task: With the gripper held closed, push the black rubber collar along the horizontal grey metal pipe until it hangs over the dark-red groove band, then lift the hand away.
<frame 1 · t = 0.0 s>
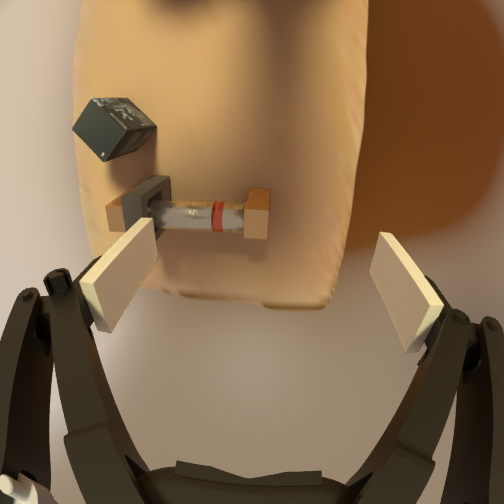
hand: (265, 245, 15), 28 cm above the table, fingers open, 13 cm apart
box: (132, 123, 38), on the table
pipe: (197, 198, 44), on the table
collar: (147, 212, 38), point 7 cm above the table, touching pipe
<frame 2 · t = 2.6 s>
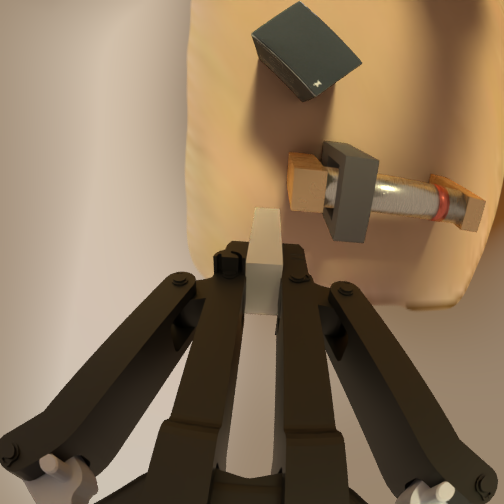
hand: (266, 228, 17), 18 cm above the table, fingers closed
box: (297, 65, 26), on the table
pipe: (375, 177, 32), on the table
collar: (344, 187, 26), point 7 cm above the table, touching pipe
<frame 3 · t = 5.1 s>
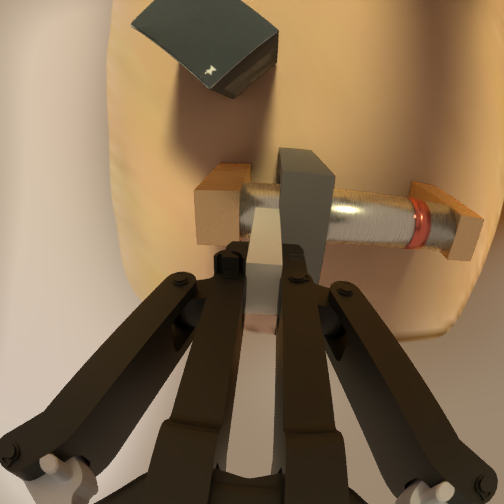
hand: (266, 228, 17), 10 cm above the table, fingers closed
box: (227, 54, 21), on the table
pipe: (335, 189, 26), on the table
collar: (297, 210, 20), point 7 cm above the table, touching gripper
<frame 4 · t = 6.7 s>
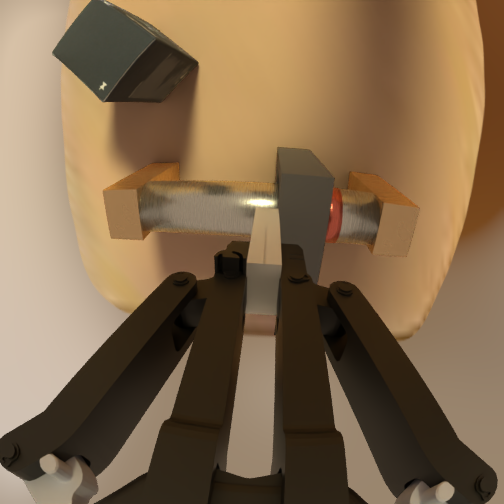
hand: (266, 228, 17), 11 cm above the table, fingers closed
box: (156, 61, 21), on the table
pipe: (263, 183, 26), on the table
collar: (295, 211, 20), point 7 cm above the table, touching gripper, pipe
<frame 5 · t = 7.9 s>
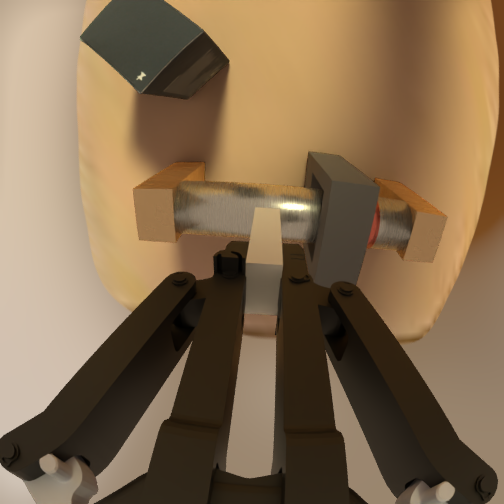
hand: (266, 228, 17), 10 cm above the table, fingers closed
box: (183, 56, 21), on the table
pipe: (290, 186, 26), on the table
collar: (331, 216, 20), point 7 cm above the table, touching pipe
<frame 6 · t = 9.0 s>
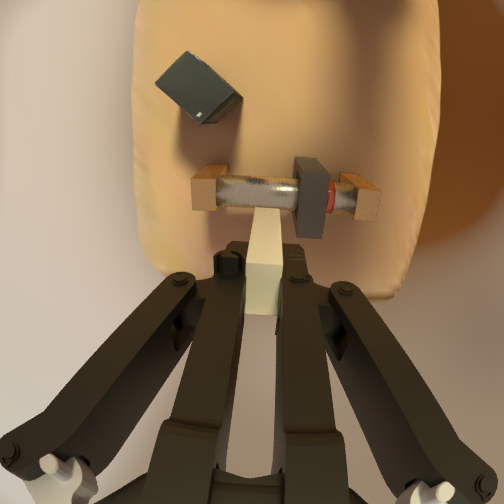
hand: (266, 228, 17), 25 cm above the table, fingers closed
box: (212, 93, 35), on the table
pipe: (284, 180, 40), on the table
collar: (308, 195, 34), point 7 cm above the table, touching pipe
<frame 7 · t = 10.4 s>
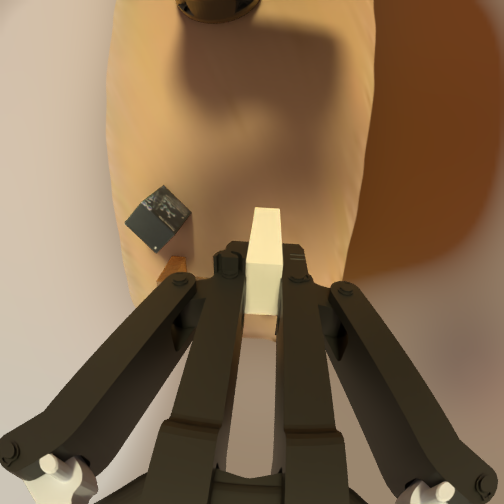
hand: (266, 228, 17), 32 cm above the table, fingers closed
box: (169, 206, 52), on the table
pipe: (225, 267, 58), on the table
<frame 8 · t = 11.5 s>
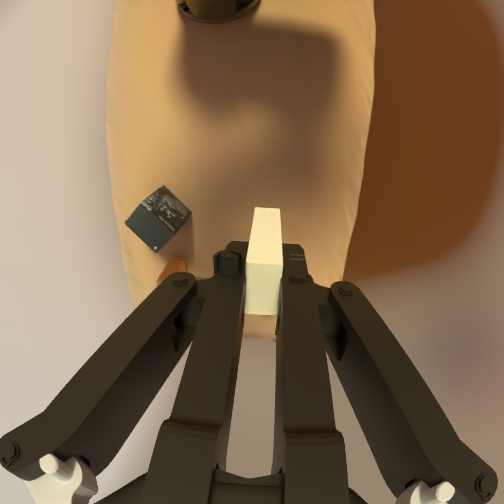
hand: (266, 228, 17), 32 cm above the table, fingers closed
box: (169, 206, 52), on the table
pipe: (225, 267, 58), on the table
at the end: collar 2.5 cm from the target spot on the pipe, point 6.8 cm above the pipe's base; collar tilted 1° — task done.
